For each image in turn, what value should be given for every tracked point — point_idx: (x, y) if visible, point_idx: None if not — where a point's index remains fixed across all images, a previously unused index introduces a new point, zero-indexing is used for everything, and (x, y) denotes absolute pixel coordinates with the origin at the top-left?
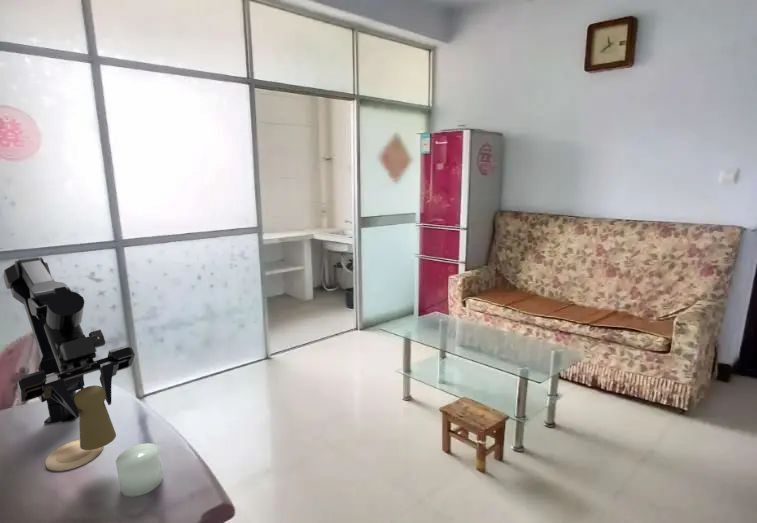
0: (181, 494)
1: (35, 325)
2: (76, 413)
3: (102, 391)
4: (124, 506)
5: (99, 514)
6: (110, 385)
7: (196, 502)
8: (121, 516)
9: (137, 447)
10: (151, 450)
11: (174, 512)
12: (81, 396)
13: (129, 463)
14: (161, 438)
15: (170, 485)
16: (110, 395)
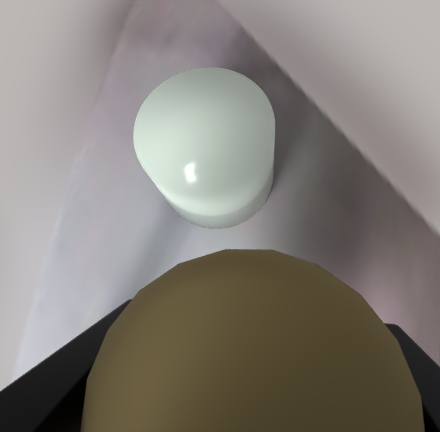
0: (181, 59)
1: None
2: (395, 332)
3: (134, 302)
4: (289, 124)
5: (345, 144)
6: (5, 391)
7: (176, 14)
8: (308, 96)
9: (179, 174)
10: (160, 114)
11: (222, 21)
12: (362, 333)
13: (242, 103)
14: None
15: None
16: (94, 329)
